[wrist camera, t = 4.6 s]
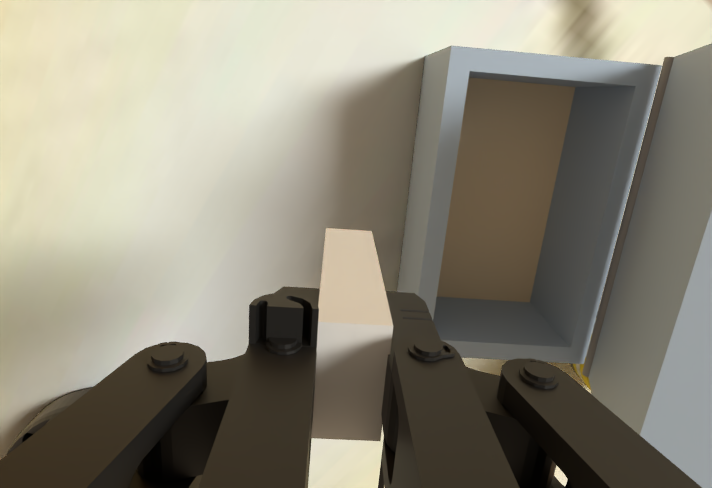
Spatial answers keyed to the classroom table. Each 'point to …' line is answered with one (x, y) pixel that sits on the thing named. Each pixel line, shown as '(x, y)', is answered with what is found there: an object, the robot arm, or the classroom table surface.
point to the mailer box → (520, 196)
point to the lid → (664, 279)
